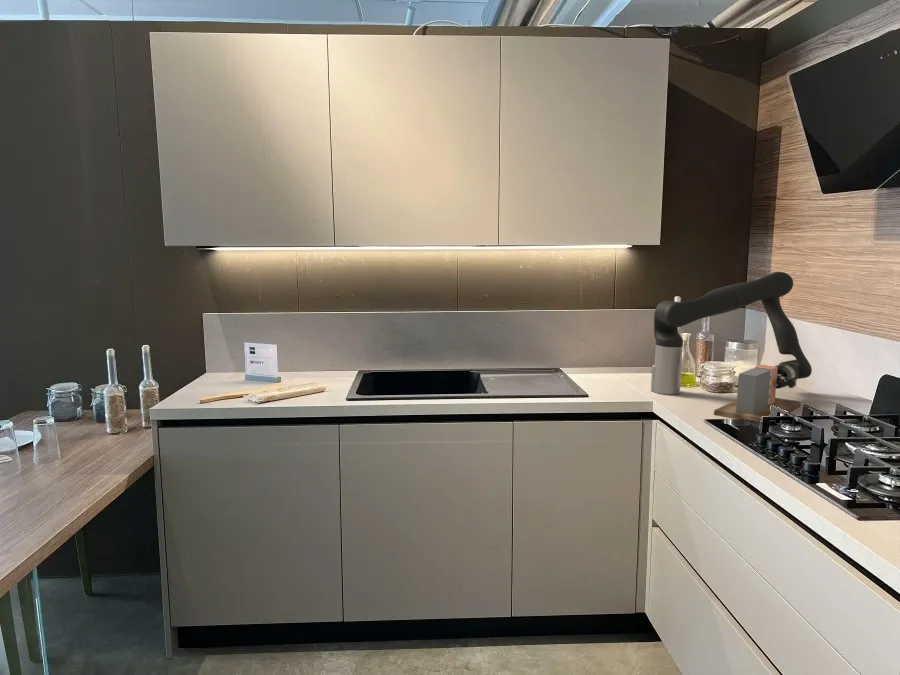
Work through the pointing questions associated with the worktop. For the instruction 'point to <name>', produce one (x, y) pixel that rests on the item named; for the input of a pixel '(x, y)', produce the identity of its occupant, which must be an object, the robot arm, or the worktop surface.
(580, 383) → the worktop surface
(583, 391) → the worktop surface
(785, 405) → the walnut board
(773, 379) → the terracotta stub
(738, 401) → the charcoal ticket block
